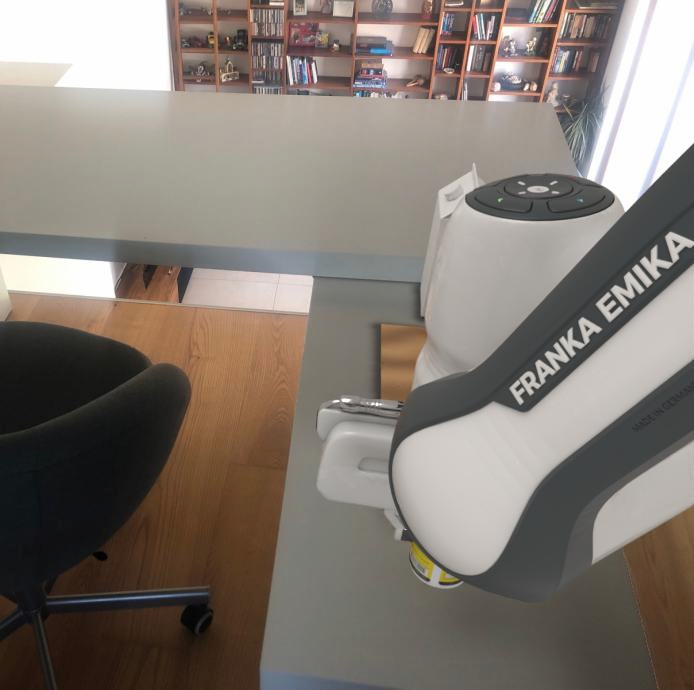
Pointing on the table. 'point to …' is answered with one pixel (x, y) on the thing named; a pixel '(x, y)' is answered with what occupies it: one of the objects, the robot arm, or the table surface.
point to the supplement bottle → (430, 570)
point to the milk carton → (444, 223)
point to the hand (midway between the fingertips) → (444, 540)
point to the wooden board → (399, 359)
